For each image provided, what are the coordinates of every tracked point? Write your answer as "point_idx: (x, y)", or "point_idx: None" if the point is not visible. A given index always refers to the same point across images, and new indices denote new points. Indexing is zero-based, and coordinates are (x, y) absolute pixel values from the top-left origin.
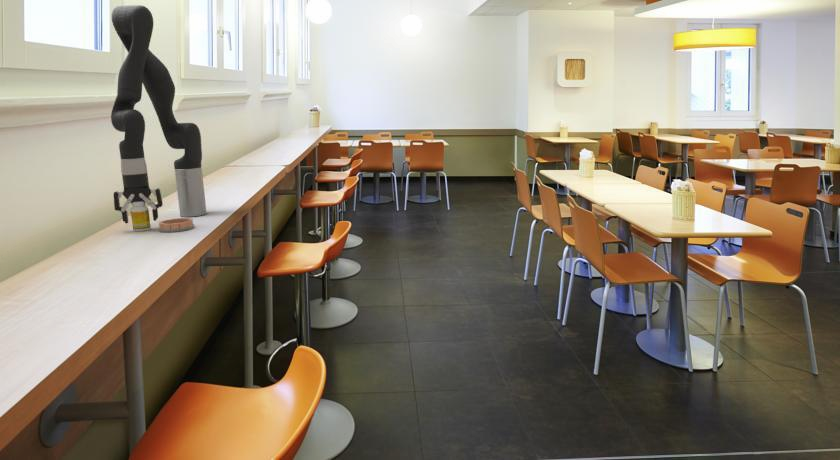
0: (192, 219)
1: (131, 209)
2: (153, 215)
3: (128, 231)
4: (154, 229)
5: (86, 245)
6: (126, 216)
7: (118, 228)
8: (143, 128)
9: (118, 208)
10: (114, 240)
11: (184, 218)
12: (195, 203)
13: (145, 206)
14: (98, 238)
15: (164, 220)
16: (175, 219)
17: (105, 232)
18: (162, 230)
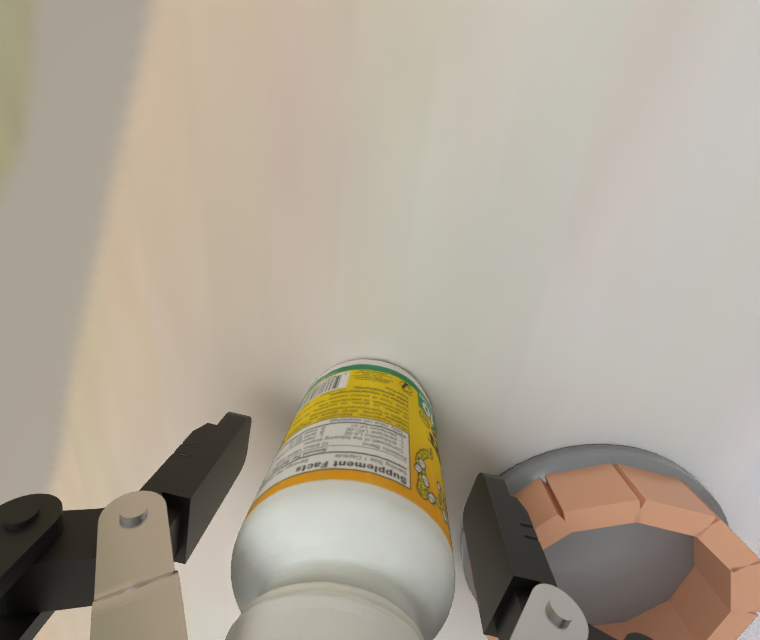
0: (747, 622)
1: (238, 605)
2: (476, 566)
3: (271, 406)
4: (449, 461)
5: (72, 614)
6: (211, 515)
7: (186, 210)
8: None
9: (55, 607)
10: (198, 599)
11: (724, 557)
12: None
13: (423, 629)
14: (97, 497)
15: (551, 527)
16: (651, 522)
17: (103, 325)
18: (474, 594)
